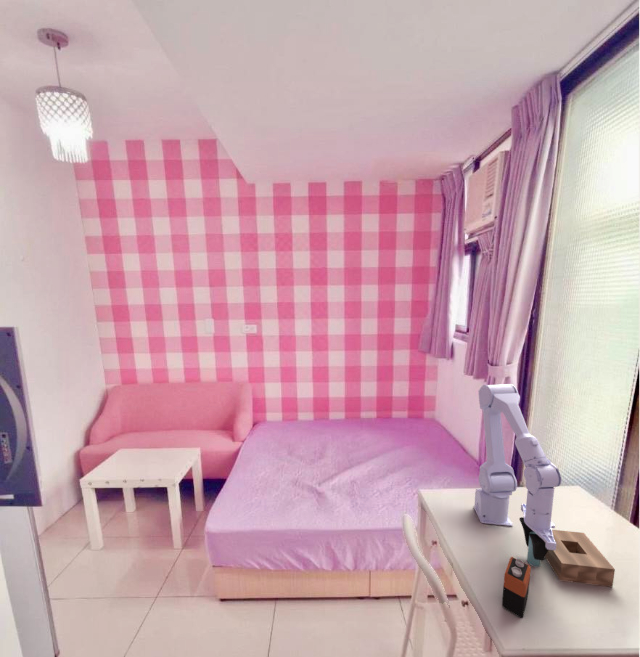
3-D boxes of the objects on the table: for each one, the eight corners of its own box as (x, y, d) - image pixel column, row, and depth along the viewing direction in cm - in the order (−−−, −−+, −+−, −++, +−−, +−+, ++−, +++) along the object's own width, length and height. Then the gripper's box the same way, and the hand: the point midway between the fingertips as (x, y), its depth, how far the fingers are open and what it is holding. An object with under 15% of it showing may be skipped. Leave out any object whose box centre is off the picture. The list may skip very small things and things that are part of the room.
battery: (501, 607, 76) (504, 570, 75) (508, 587, 81) (511, 551, 80) (522, 620, 74) (526, 581, 72) (528, 598, 79) (531, 561, 77)
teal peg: (530, 566, 87) (532, 539, 86) (525, 556, 90) (527, 531, 89) (542, 567, 87) (545, 540, 86) (536, 558, 90) (539, 532, 89)
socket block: (560, 580, 83) (561, 563, 82) (536, 543, 95) (538, 528, 94) (612, 586, 81) (614, 569, 81) (582, 548, 93) (583, 532, 92)
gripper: (572, 528, 79) (566, 577, 81) (541, 491, 93) (537, 533, 95) (540, 525, 80) (535, 574, 82) (514, 488, 94) (511, 530, 96)
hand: (534, 552), depth 88 cm, fingers open, 4 cm apart
